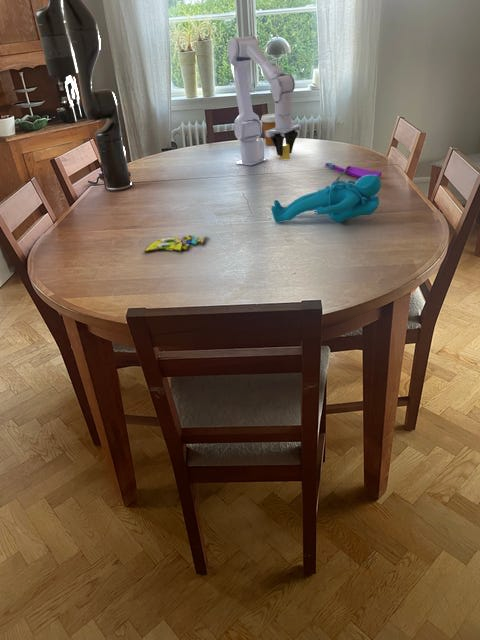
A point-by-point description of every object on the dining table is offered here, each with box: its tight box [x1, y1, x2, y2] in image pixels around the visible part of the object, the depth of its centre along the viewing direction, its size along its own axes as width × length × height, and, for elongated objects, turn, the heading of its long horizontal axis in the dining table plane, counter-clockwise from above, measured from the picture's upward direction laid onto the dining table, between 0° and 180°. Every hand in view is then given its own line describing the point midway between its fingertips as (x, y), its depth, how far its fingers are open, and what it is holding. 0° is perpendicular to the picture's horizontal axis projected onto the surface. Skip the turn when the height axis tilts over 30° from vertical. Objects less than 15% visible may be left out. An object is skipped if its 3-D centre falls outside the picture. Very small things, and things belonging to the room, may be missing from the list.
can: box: [278, 142, 291, 160], centre depth 174 cm, size 4×4×5 cm
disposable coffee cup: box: [260, 112, 276, 146], centre depth 214 cm, size 10×10×12 cm
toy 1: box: [144, 234, 207, 254], centre depth 130 cm, size 10×1×15 cm
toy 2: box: [270, 175, 382, 224], centre depth 134 cm, size 17×11×30 cm
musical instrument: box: [324, 162, 382, 185], centre depth 168 cm, size 24×2×20 cm
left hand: (75, 120), depth 135 cm, fingers open, 8 cm apart
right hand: (284, 154), depth 174 cm, fingers closed on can, 4 cm apart
